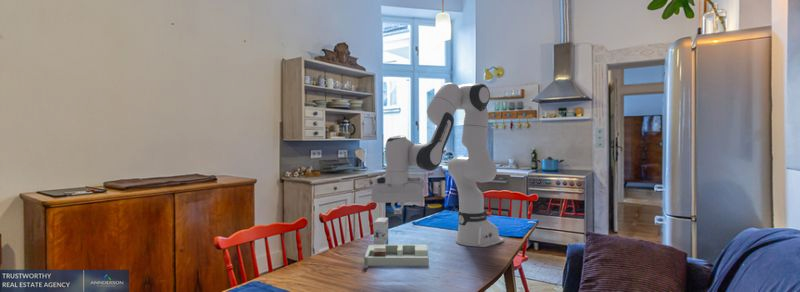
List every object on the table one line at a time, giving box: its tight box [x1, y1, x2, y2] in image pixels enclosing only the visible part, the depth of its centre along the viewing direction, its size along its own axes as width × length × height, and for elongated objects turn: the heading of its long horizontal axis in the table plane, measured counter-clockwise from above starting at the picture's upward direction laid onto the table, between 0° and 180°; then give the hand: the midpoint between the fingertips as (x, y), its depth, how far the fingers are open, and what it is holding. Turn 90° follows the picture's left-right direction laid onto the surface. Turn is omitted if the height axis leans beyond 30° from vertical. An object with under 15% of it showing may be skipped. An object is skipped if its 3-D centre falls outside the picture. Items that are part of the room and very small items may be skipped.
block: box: [374, 248, 386, 256], centre depth 149 cm, size 4×4×4 cm
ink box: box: [373, 217, 389, 245], centre depth 173 cm, size 9×5×12 cm, turn 168°
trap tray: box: [363, 244, 430, 269], centre depth 152 cm, size 24×17×4 cm
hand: (397, 213), depth 149 cm, fingers closed
